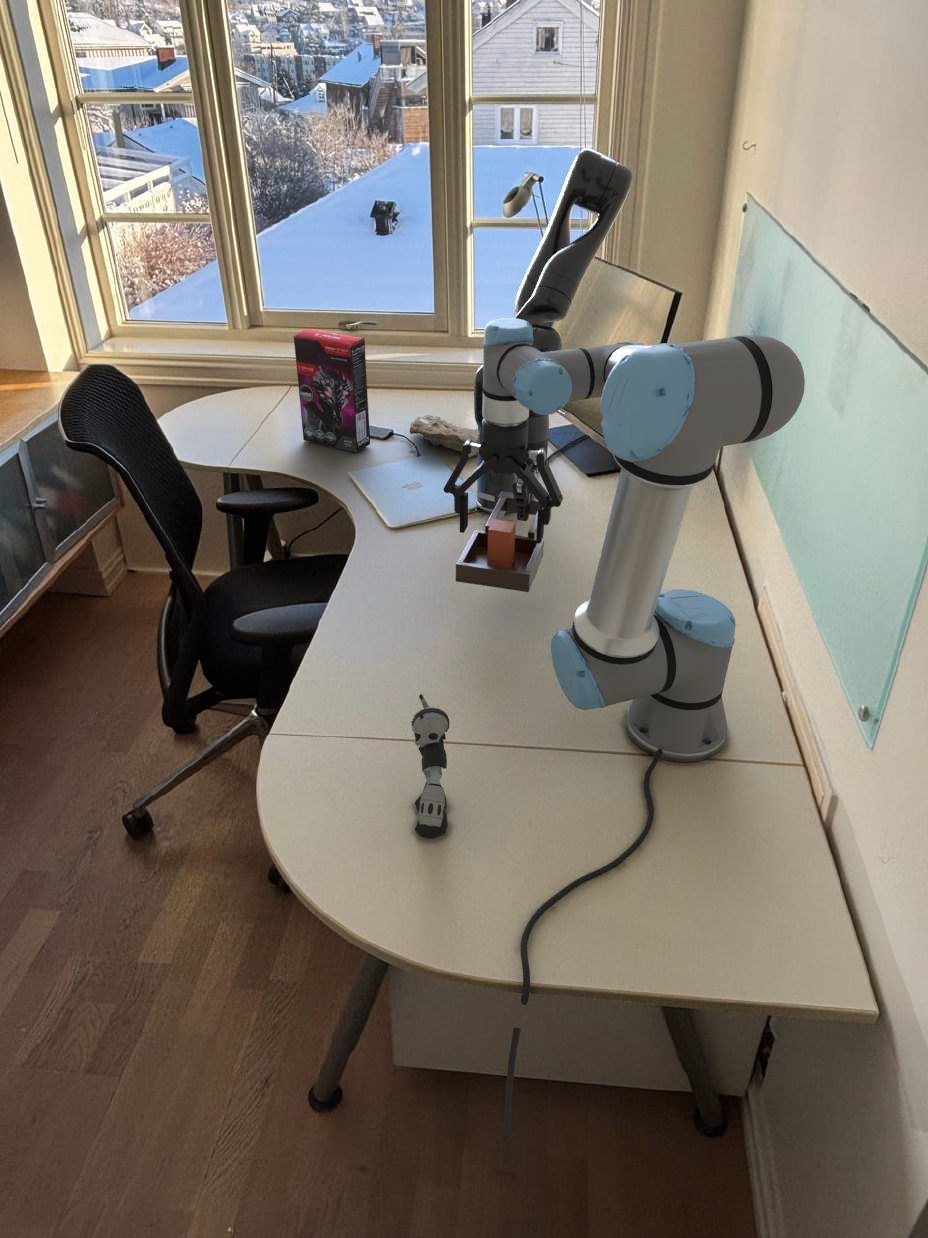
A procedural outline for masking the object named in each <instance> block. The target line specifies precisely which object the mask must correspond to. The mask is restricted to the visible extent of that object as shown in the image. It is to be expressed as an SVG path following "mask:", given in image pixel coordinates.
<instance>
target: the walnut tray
mask: <svg viewBox="0 0 928 1238" xmlns="http://www.w3.org/2000/svg"><path fill="white" fill-rule="evenodd" d="M539 506H540V503H539V502H538V500H537V499H536V498H535V496H534V495H530V503H529V515H531V516H534V518H533V520H532V522H531V524H530V527H529V529H528V530H527V536H524V535H517V534H515V551H514V563H513V565H512V567H511V569H505V568H499V567H492V566H487V557H488V529H489V527H490V525H491V523H492V522H493V520H494V519H495V520H503V518H504V516H505V514H506V513H505V512H506V511H508V513H515V514H517V504H514V496H513V493H511V492H503V491H501V493H500V495H499V501H498V503H497V505H496V507H495V509H494V510H493V512H492V513H490V516H489V517H488V520H487V521H486V524H485V526H484V530H481V529H474V531H473V532H472V533H471V536H470V538H469V539H468V541H467V543H466V545H465V547H464V549H463V550H462V552H461V554H460V556H459V557H458V560H457V561H456V563H455V582H457V583H465V584H471V585H477V586H478V585H479V586H484V587H491V588H498V589H505V590H509V591H511V590H512V591H517V592H525V593H529V592H530V590H531V588H532V585H533V582H534V580H535V579H536V575H537V573H538V571H539V568H540V565H541V562H542V560H543V557H544V553H545V539H544V538H542V541H541V543H540V544H539V543H536V535H537V518H538V508H539Z"/></svg>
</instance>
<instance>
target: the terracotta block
mask: <svg viewBox="0 0 928 1238" xmlns="http://www.w3.org/2000/svg"><path fill="white" fill-rule="evenodd" d="M516 527H517V522H516V521H509V520H503V519H502V520H495V519H494V520H493V522H492V523H491V525H490V527H489V529H488V557H487V566H492V567H499V568H505V569H511V567H512V565H513V563H514V551H515V535H516Z"/></svg>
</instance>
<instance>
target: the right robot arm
mask: <svg viewBox="0 0 928 1238" xmlns="http://www.w3.org/2000/svg"><path fill="white" fill-rule="evenodd" d="M483 334H484V335H483V344H482V350H483V352H482V354H483V356H482V357H483V359H482V365H483V404H482V416H483V417H484V419H483V420H482V443H481V445H480V444H475V443H473V441H472V440H470V439H469V440H467V441H466V443H465V444H464V446H463V448H462V452H461V456H460V458H459V460H458V462H457V464H456V465H455V467H454V469H453V471H452V472H451V474H450V476H449V478H448V480H447V482H446V483H445V485H444V487H443V492H444V493H445V494H451V495H453V498H454V499H453V501H454V503H453V504H454V505H453V508H454V509H453V510H454V513H455V514H459V533H461V534H464V533H465V532H466V530H467V528H468V527H469V492H466V491H467V490H469V489H470V488H471V487H472V485H473V484H475V483H476V482H477V480H478V479H479V478H480V477H481V476H482V475H483V474H484V473H485V472H486V471H487V470H488V469H490V470H491V471H493V473H504V474H508V475H512V474H513V473H515V474H516V475H517V477H518V478H519V479H521V480H522V481H523V482H524V483H525V485H526V486H527V487H528V489H529V490H530V491H531V493H532V494H533V495H534V496H535V498H536V499H537V500H538V502H539V503H540V506H539V508H538V518H537V535H536V543H539V544H540V543H541V541H542V539H544V534H545V532H544V531H545V526H548V525H549V524H550V521H551V518H552V508H554V507H555V508H559V507H561V504H562V502H563V500H564V496H563V493H562V492H561V489H560V487H559V485H558V482H557V480H556V478H555V476H554V474H553V471H552V469H551V467H550V464H549V461H547V457H548V451H547V452H546V449H545V448H541V449H540V450H529V448H528V444H527V443H528V420H527V418H528V417H529V409H530V410H532V411H533V412H535V413H537V414H540V415H553V414H556V412H558V411H560V410H561V409H563V408H564V407H565V406H566V405H567V404H568V403H569V402H575V401H583V400H588V399H597V398H601V399H600V412H599V414H600V415H601V416H602V421H601V422H600V427H602V429H601V431H602V432H601V433H602V436H603V438H604V442H605V444H606V445H607V448H608V449H609V450H610V452H612V456H613V459H614V461H615V463H616V464H617V465H618V466H619V468H620V473H619V476H618V481H617V485H616V489H615V493H614V498H613V502H612V506H611V510H610V514H609V519H608V523H607V526H606V527H607V528H606V531H605V534H604V535H605V536H604V540H603V544H602V548H601V552H600V556H599V560H598V565H597V569H596V574H595V578H594V582H593V586H592V590H591V595H590V599H587V600H586V601H584V602H583V603H581V605H579V607H578V608H577V610H576V611H575V614H574V616H573V617H574V618H573V622H572V626H571V628H568V629H565V628H563V629H561V630H559V631H557V632H555V633H554V634H553V635H552V637H551V641H550V655H551V662H552V666H553V669H554V670H553V671H554V672H555V676H556V678H557V681H558V683H559V686H560V688H561V690H562V692H563V694H564V696H565V697H566V699H567V700H568V701H569V703H570V704H571V705H572V706H573V707H575V708H577V709H579V710H582V711H588V710H593V709H594V710H595V709H604V708H606V707H609V706H614V705H617V704H621V703H625V702H628V701H631V702H630V704H629V706H628V708H627V711H626V719H625V728H626V732H627V734H628V736H629V738H630V739H631V741H632V742H634V744H636V745H637V746H638V747H639V748H640V749H641V750H643V751H645V752H646V753H648V754H650V755H651V756H653V758H652V761H651V763H650V764H649V765H648V767H647V769H646V771H645V774H644V779H643V791H644V796H645V797H644V798H645V801H646V805H647V812H648V813H647V818H646V822H645V825H644V827H643V829H642V831H641V833H640V835H639V836H638V837H637V839H636V840H635V841H634V842H633V843H632V844H631V845H630V846H629V847H628V848H627V849H626V850H625V851H624V852H622V853H621V854H620V855H619V856H618V857H616V859H614V860H612V861H611V862H609V863H608V864H606V865H604V866H602V867H600V868H597V869H595V870H594V871H591V872H589V873H587V874H585V875H583V876H580V877H579V878H577V879H575V880H574V881H571V882H570V883H569V884H568V885H566V886H564V888H562V889H561V890H559V891H558V892H556V893H555V894H554V895H553V896H551V897H550V898H549V899H548V900H546V901H545V902H543V904H541V905H540V907H538V909H536V911H535V912H534V913H533V914H532V916H531V917H530V919H529V920H528V922H527V924H526V926H525V928H524V930H523V933H522V934H521V935H522V936H521V940H520V959H521V968H522V990H521V997H520V998H521V999H520V1004H521V1005H523V1006H526V1005H528V1003H529V998H530V989H531V971H530V964H529V963H530V962H529V955H528V941H529V937H530V935H531V933H532V930H533V928H534V926H535V925H536V923H537V922H538V920H540V918H541V917H542V915H544V913H546V911H548V910H549V909H550V908H551V907H552V906H554V904H556V903H558V902H559V901H560V900H562V899H563V897H566V895H568V894H569V893H571V892H572V891H573V890H575V889H576V888H578V887H580V886H581V885H583V884H586V883H587V882H589V881H592V880H594V879H595V878H599V876H602V875H604V874H606V873H608V872H610V871H612V870H613V869H615V868H617V867H618V866H620V865H621V864H622V863H623V862H624V861H626V860H627V859H628V858H629V857H630V856H631V855H632V854H633V853H634V852H635V851H636V850H637V849H638V848H639V847H640V846H641V845H642V844H643V842H644V841H645V839H646V838H647V836H648V835H649V833H650V830H651V828H652V825H653V821H654V818H655V806H654V802H653V798H652V794H651V789H650V787H651V786H650V781H651V776H652V774H653V772H654V770H655V768H656V766H657V764H658V762H659V760H660V759H662V760H666V761H670V762H675V763H694V762H700V761H703V760H706V759H709V758H711V757H714V755H716V754H718V752H720V751H721V750H722V748H723V747H724V744H725V743H726V740H727V739H726V738H727V734H728V721H727V716H726V712H725V708H724V707H725V706H724V701H723V692H724V686H725V682H726V678H727V672H728V668H729V664H730V659H731V654H732V651H733V647H734V645H735V642H736V639H735V632H736V627H737V626H736V617H735V616H734V614H733V612H732V611H731V609H730V608H729V607H728V606H727V605H726V604H724V603H723V602H722V601H720V600H719V599H717V598H715V597H713V596H710V595H709V594H706V593H703V592H699V591H695V590H692V589H691V590H690V589H670V590H666V591H663V592H662V589H663V585H664V582H665V579H666V577H667V573H668V569H669V566H670V563H671V559H672V556H673V553H674V551H675V550H674V549H675V548H676V547H675V546H676V545H677V544H676V543H677V540H678V537H679V534H680V531H681V527H682V524H683V520H684V518H685V514H686V511H687V508H688V505H689V501H690V499H691V496H692V491H693V490H694V486H696V485H699V484H701V483H704V481H706V480H707V479H708V478H709V477H711V475H712V473H713V471H714V467H715V464H716V461H717V457H718V454H719V452H720V450H721V449H722V448H723V447H727V446H734V445H737V444H738V445H739V444H744V443H745V444H746V443H749V442H750V443H751V442H756V441H758V440H762V439H764V438H767V437H770V436H772V435H773V434H775V433H777V432H778V431H780V430H781V429H782V428H784V427H785V426H786V425H787V424H788V423H789V422H790V421H791V420H792V418H793V417H794V416H795V414H796V413H797V411H798V409H799V408H800V405H801V403H802V401H803V398H804V395H805V394H804V393H805V387H806V380H805V371H804V368H803V365H802V362H801V360H800V359H799V357H798V355H797V353H795V351H794V350H793V349H792V348H791V347H790V346H788V345H787V344H786V343H784V342H783V341H780V340H779V339H777V338H774V337H770V336H766V335H757V334H748V335H747V334H746V335H745V334H744V335H736V336H731V337H723V338H715V339H708V340H706V339H705V340H699V341H691V342H684V343H671V342H669V343H666V342H664V343H658V344H655V345H645V344H644V343H643V342H640V341H639V342H638V341H635V342H630V341H623V342H621V341H620V342H617V343H613V344H612V343H611V344H604V345H596V346H591V347H590V346H588V347H579V348H569V349H563V350H559V351H551V352H540V351H539V350H537V349H536V348H534V347H533V346H532V344H533V341H534V338H533V328H532V325H531V324H530V323H529V322H527V321H525V320H522V319H516V318H514V317H502V318H496V319H492V320H491V321H489V322H488V323H486V325H485V327H484V332H483ZM476 452H479V454H480V456H481V457H482V459H483V460H484V461H483V462H482V463H481V464H480V465H479V466H478V467H476V468H475V469H474V470H473V471H472V472H471V473H470V474H469V475H468V476H467V477H465V479H464V480H463V481H462V482H461V483H460V484H456V483H457V481H458V480H459V478H460V475H461V474H462V472H463V470H464V468H465V467H466V465H467V463H468V461H469V460H470V458H471V457H474V456H476V455H475V453H476ZM528 458H531V459H532V460H533V463H534V464H537V468H538V473H539V476H540V477H541V480H542V483H543V485H544V486H543V485H542V483H541V482H540V481H539V479H538V477H537V478H536V477H535V476H534V474H533V473H532V472H531V471H530V468H529V466H528V465H527V463H526V461H527V460H528ZM521 1030H522V1029H521V1028H520V1027H516V1026H514V1027H513V1029H512V1034H511V1035H512V1036H511V1042H510V1048H509V1054H508V1063H507V1071H506V1082H505V1099H504V1101H505V1102H504V1117H503V1131H502V1133H503V1135H504V1136H505V1137H506V1136H509V1135H510V1131H511V1120H512V1119H511V1118H512V1105H513V1103H512V1102H513V1088H514V1078H515V1077H514V1076H515V1066H516V1060H517V1053H518V1046H519V1039H520V1035H521V1034H520V1033H521Z"/></svg>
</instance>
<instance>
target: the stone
mask: <svg viewBox="0 0 928 1238" xmlns="http://www.w3.org/2000/svg"><path fill="white" fill-rule="evenodd" d="M409 434H411V435H414V434H416V435H421V436H422V437H423V438H424V439H425V440H429V441H430V443H431V444H432V445H434V446H443V447H445V448H446V449H447V448H448V449H452V450H454V451H457V452H461V453H462V448H463V446H464V444H465V443H466V441H467V440H469V439H470V440H472V441H473V443H475V444H478V428H477V429H472V428H468V427H461V426H456V425H455V424H453V423H450V422H448V421H446V420H445V419H441V417H440V416H434V415H431V414H427V415H423V416H417V417H416V418H415V419H414V420H413V421H411V422H410V427H409ZM474 456H476V457H478V452H476V453H475V455H474Z"/></svg>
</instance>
